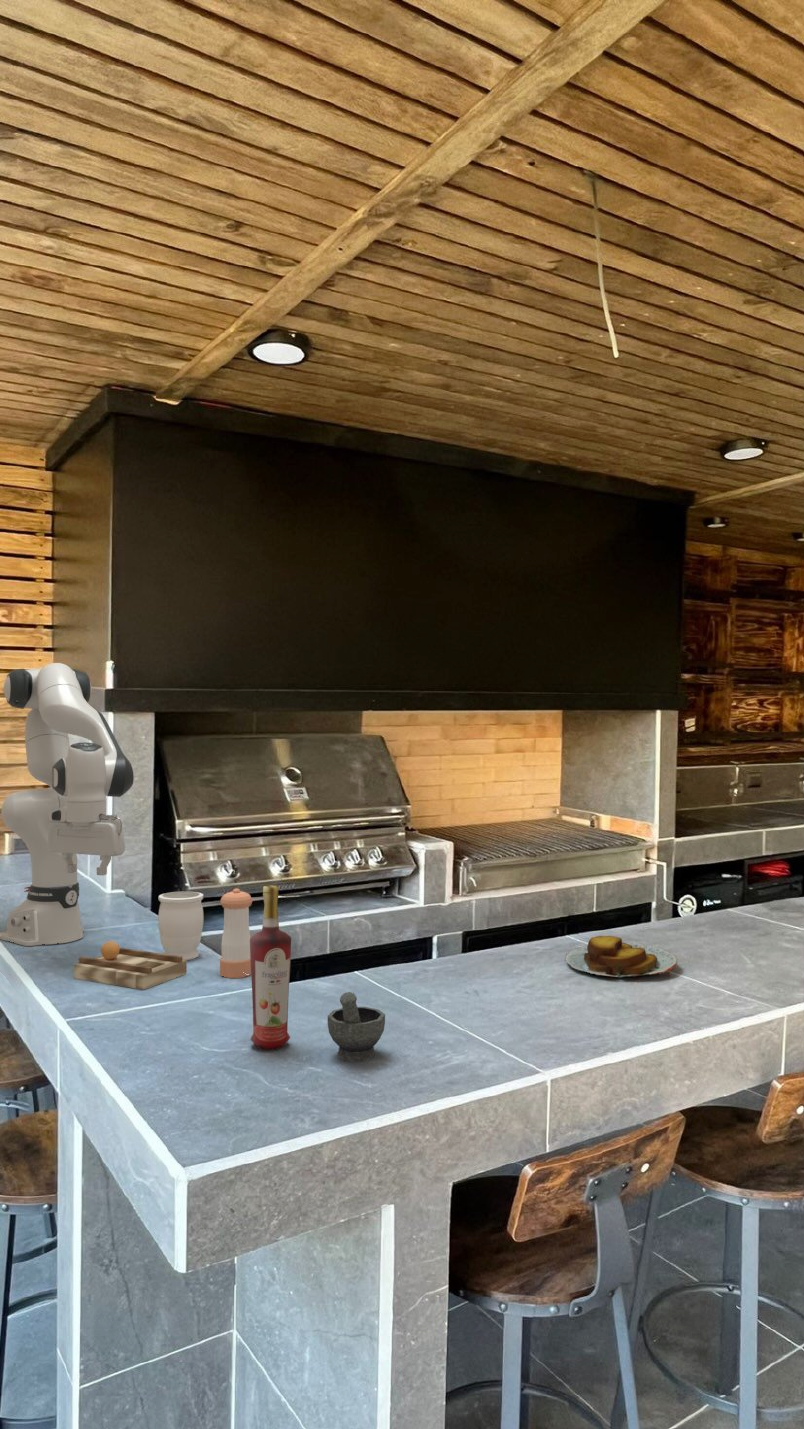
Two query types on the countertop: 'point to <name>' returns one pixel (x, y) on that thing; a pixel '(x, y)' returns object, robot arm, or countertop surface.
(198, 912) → the jar
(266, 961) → the liquor
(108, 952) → the ball
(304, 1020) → the countertop surface
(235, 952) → the pepper shaker
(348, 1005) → the mortar and pestle
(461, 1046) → the countertop surface
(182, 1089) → the countertop surface
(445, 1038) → the countertop surface
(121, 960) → the lane board
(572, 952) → the food on plate
